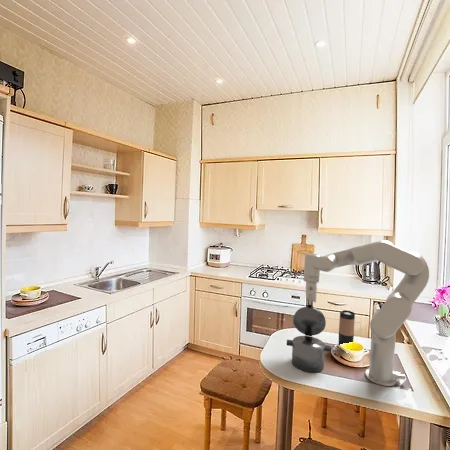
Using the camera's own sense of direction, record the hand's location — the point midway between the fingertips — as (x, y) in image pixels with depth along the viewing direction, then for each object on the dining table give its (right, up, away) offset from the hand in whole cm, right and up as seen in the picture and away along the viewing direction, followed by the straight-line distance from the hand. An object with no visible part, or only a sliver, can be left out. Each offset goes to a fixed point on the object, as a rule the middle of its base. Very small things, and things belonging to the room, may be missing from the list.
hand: (309, 313), depth 152 cm
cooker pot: (-3, -23, -7) cm, 24 cm away
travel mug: (+23, -23, +11) cm, 34 cm away
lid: (-1, -4, -2) cm, 5 cm away
